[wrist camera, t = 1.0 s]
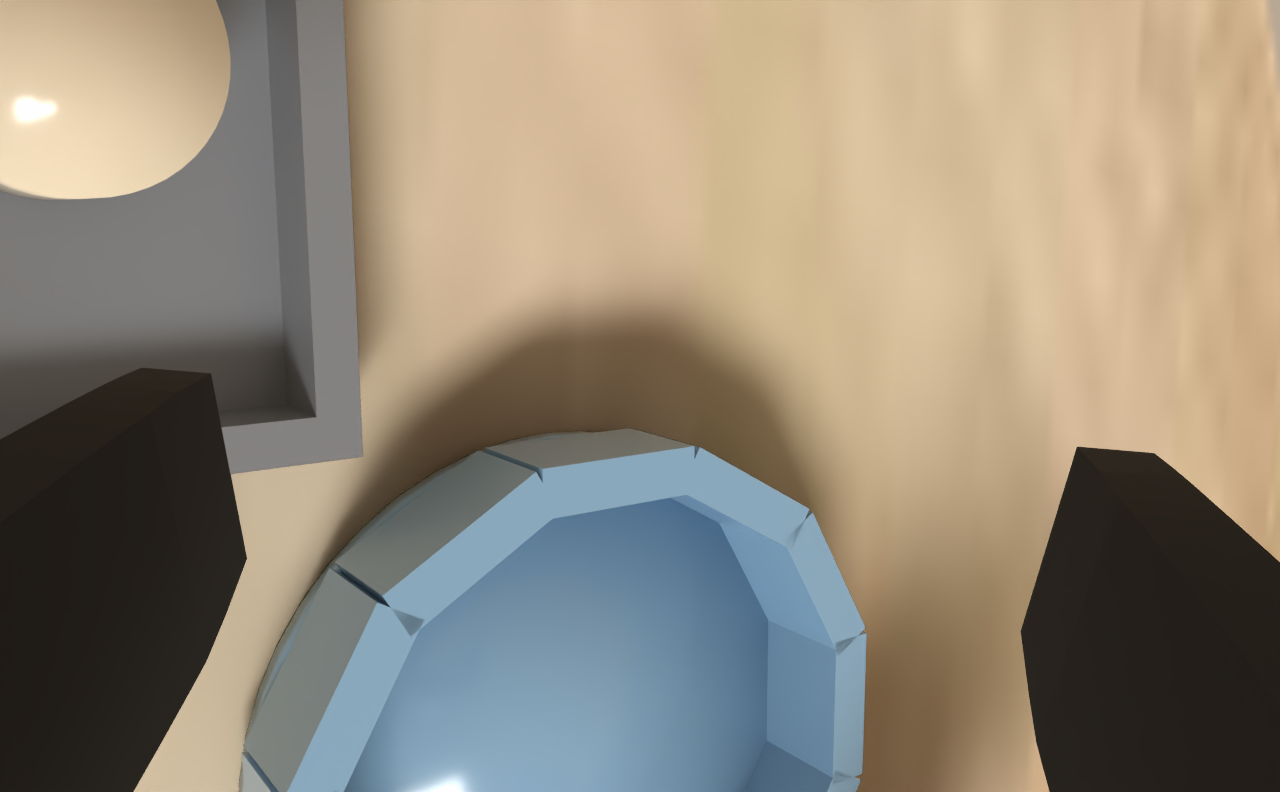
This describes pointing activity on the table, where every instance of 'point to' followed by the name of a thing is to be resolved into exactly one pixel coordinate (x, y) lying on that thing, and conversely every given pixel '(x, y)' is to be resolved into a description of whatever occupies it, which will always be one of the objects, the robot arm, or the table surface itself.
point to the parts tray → (211, 260)
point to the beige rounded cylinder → (106, 93)
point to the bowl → (571, 635)
